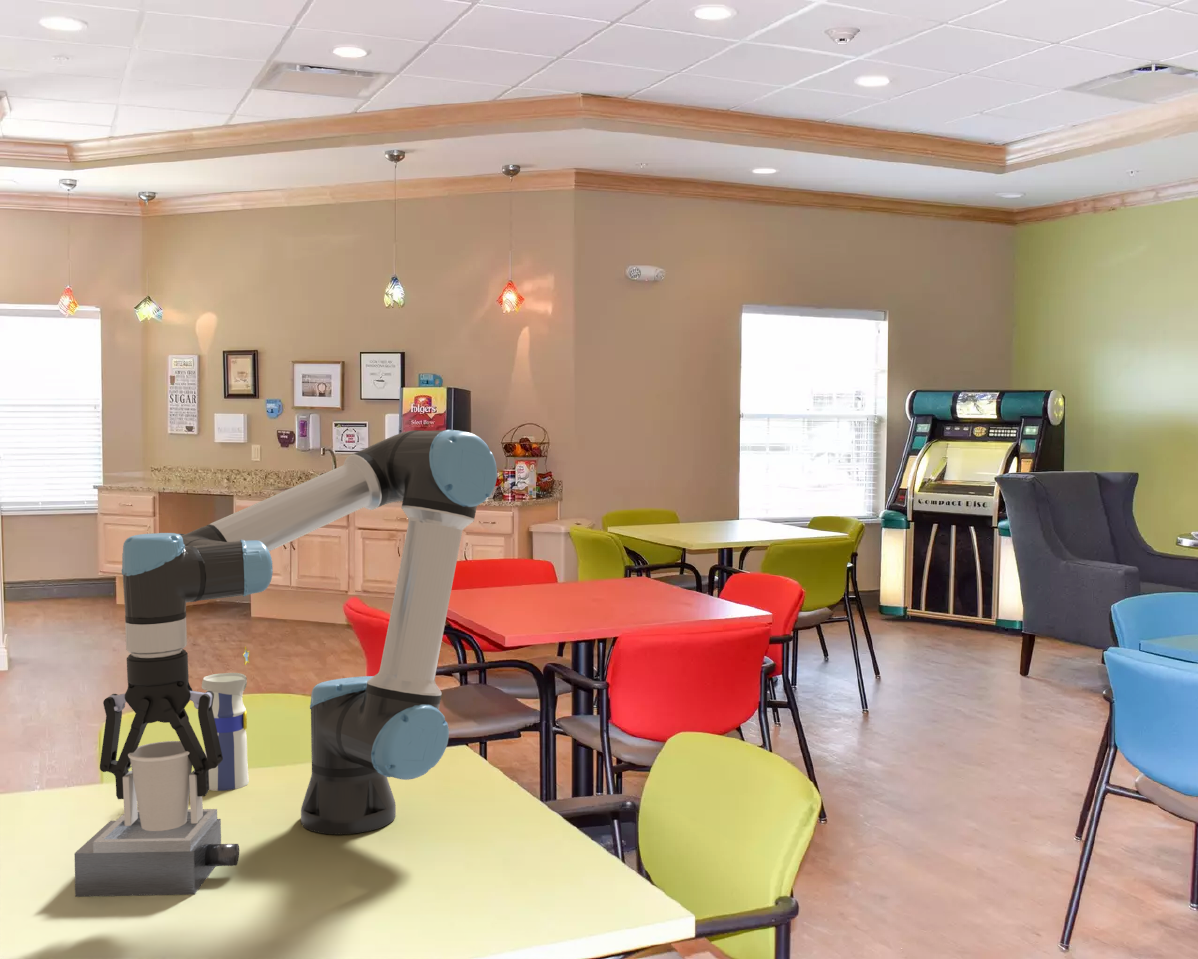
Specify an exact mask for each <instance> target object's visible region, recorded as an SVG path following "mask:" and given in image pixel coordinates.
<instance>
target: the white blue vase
mask: <svg viewBox="0 0 1198 959" xmlns="http://www.w3.org/2000/svg"><path fill="white" fill-rule="evenodd" d="M243 651H244V652H243V654H242V657H243V658H244V666H246V665H247V664H250V659H249V656H250V650H247V646H244V650H243ZM247 681H248V679H247V676H246V675H245V674H243V673H240V672H239V673H238V672H225V673H223V672H222V673H214V674H209V675H207V676H204V677H203V678H202V682H201V689H202V690H204V691H206V692H207V691H212V692H213V693H214V699H213V706H212V710H213V714H214V719H215V724H216V729H217V733H218V738H219V743H220V747H221V752H222V757H223V760H222V761H221V763H220V764H219V765H218V766H217V767H216V768H212V769H209V791H215V792H216V791H217V792H222V791H233V790H237V789H241V788H243V787H246V786H247V785H248V784H249V782H250V781H249V766H248V738H247V737H248V736H247V729H248V721H247V720H248V718H247V717H248V716H247V714H248V713H247V708H246V706H245V705H244V702H243V701H244V700H243V698H244V697H243V693H244V692H245V689H246V687H247V684H248V682H247ZM204 753H205V755H206V751H205V750H204ZM206 757H207V755H206Z"/></svg>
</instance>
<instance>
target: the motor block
mask: <svg viewBox="0 0 1198 959" xmlns="http://www.w3.org/2000/svg"><path fill="white" fill-rule="evenodd" d="M137 811H138V819H137V820H136V821H135V822H134V823H133V824H132V825H131V826H125V820H124V813H123V814H122V815H121V816H120V817H119V818H117V820H109V821H108V822H107V823H106V824H105V825H104V826H103V827H102V828H100V829H99V831H97V832H96V833H95V834H94V835H93V836H91V838H89V840H87V841H86V842H85V843H84V844H83V845H82V846H81V847H80V848H79V849H78V850H76V851H75V852H74V890H75V891H74V893H75V894H74V896H75V898H76V897H78V898H80V897H82V898H83V897H122V896H123V897H126V896H127V897H129V896H130V897H132V896H171V895H172V896H175V895H176V896H177V895H179V896H181V895H182V896H183V895H195V894H197V892H198V891H199V889H200V888H201V886H202V885H203V884H204V882H206V880H207V879H208V877H209V876H210V874H211V873H212V872H213V870H214V869H215V868H216V867H232V866H233V867H236V866H237V865H238V863H239V859H240V846H239V843H222V826H221V824H222V822H221V820H222V819H221V818H218V808H203V817H202V818H201V819H200V820H199V821H198V823H191V808H190V809H189V808H188V814H187V822H186V823H185V824H184V825H182V826H180V827H178V828H174V829H170V830H164V831H148V830H144V829H142V827H141V821H140V815H139V809H137Z"/></svg>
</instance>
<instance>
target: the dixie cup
mask: <svg viewBox="0 0 1198 959" xmlns="http://www.w3.org/2000/svg"><path fill="white" fill-rule="evenodd" d="M188 755H189V752H188V751H185V749H184V747H183V745H182V743H181V741H180V740H170V741H169V740H167V741H166V740H165V741H157V742H151V743H146V744H141V745H138V748H137V749H136V750H135V752H133V753H129V754H128V757H129V758H130V761H131V765H130V766H131V771H132V773H133V779H134V785H135V791H136V797H137V810H139V815H140V821H141V827H142V829H144V830H148V831H164V830H170V829H174V828H178V827H180V826H182V825H184V824H185V823H186V822H187V814H188V809H189V804H190V803H189V802H190V783H189V775H190V774H191V773H192V772H193V766H192V764H191V762H190V760H189V758H188Z"/></svg>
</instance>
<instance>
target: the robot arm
mask: <svg viewBox="0 0 1198 959" xmlns="http://www.w3.org/2000/svg"><path fill="white" fill-rule="evenodd" d="M497 469H498V468H497V462H496V459H495V456H494V454H493V452H492V451H491V450H490V448H489V445H488V444H487V443H486V442H485V441H484V439H482V438H481V437H480V436H478V435H476V434H474V433H473V432H468V431H463V430H455V429H445V430H421V429H420V430H408V431H404V432H401V433H396V434H394V435H392V436H390V437H388V438H385V439H383V440H381V441H379V442H376V443H375V444H372V445H370V446H367V447H366V448H364V449H362V450H360V451H357V452H355V453H352V454H350V455H348V456H347V457H346V458H345V460H344V462H343V465H340V466H338V467H336V468H334V469H332V470H330V471H327V472H325V473H322V474H320V475H317V476H316V477H313V478H310V479H308V480H306V481H303V482H302V483H299V484H297V485H296V486H295V485H294V486H293V487H290V488H289V489H286V490H283V491H282V492H280V493H277V494H275V495H273V496H270V497H268V498H265V499H263V500H261V501H259V502H257V503H254V504H252V505H249V506H247V507H245V508H243V509H240V510H238V511H236V512H234V513H232V514H229V515H227V516H225V517H222V518H220V519H217V520H215V521H213V522H211V523H209V524H207V525H205V526H201V527H198V528H197V529H194V530H192V531H190V532H188V533H175V532H158V533H156V532H155V533H142V534H135V535H131V536H129V537H127V538H126V539H125V540H124V542H123V545H122V555H121V556H122V560H121V562H122V564H121V565H122V566H121V575H122V583H123V585H122V587H123V600H124V614H125V615H124V619H125V621H124V624H125V628H124V629H125V651H126V652H128V653H129V655H127V657H126V673H127V674H126V676H127V679H126V680H127V689H126V691H125V692H124V693H121V694H117V693H112V694H111V695H109V696H108V697H106V698H105V699H104V700H103V702H102V703H103V709H104V713H105V724H104V730H103V731H104V732H103V739H102V746H101V753H100V754H101V755H100V762H99V770H100V771H101V772H102V773H106V772H107V773H111V774H113V775H114V778H115V796H116V798H117V800H123V812H124V813H123V814H124V820H125V826H131V825H132V824H133V823H134V822H135V821H136V820H137V819H138V811H137V810H138V803H137V797H136V791H135V785H134V779H133V773H132V770H131V769H132V767H131V761H130V758H129V757H128V754H129V753H133V752H135V750H136V749H137V748H138V747H139V746H140V742H141V740H142V737H143V735H144V733H145V730H146V728H147V725H148V724H153V723H156V722H159V723H169V725H170V727H171V728H172V730H174V731H175V733H176V735H177V737H178V739H179V741H181V743H182V745H183V747H184V749H185V751H188V752H189V755H188V758H189V760H190V762H191V764H192V769H193V770H192V773H191V774H190V775H189V783H190V793H189V802H190V803H189V804H190V809H191V823H198V821H199V820H200V819H201V818H202V817H203V809H204V808H203V805H204V804H203V797H206V795H208V794H209V791H210V790H209V769H212V768H216V767H217V766H218V765H219V764H220V763H221V761H222V760H223V757H222V752H221V747H220V743H219V738H218V733H217V729H216V724H215V719H214V714H213V710H212V706H213V699H214V693H213V692H212V691H207V690H206V692H202V691H194V690H193V688H192V687H191V685H190V683H189V681H190V680H189V679H190V678H189V675H190V674H189V658H188V657H189V655H188V652H187V651H186V650H185V648H186V647H187V646H188V632H187V610H186V609H187V603H195V602H199V601H205V600H206V601H207V600H208V601H209V600H216V599H224V598H232V597H242V596H243V597H246V596H248V595H253V594H258V593H259V594H260V593H262V592H264V591H266V590H267V589H268V587H269V586H270V584H271V583H272V582H271V581H272V578H273V573H274V572H273V567H274V566H273V559H272V556H271V553H270V552H271V551H273V550H275V549H277V548H280V547H282V546H284V545H286V544H288V543H290V542H293V541H295V540H297V539H299V538H302V537H303V536H305V535H307V534H310V533H312V532H314V531H317V530H319V529H320V528H323V527H325V526H327V525H329V524H331V523H333V522H335V521H338V520H340V519H342V518H344V517H346V516H348V515H350V514H353V513H355V512H357V511H359V510H361V509H363V508H364V509H366V510H370V511H371V510H376V509H378V508H380V507H382V506H384V505H385V506H386V505H388V504H391V503H396V502H397V503H398V502H402V504H401V509H402V510H401V511H403V513H404V514H405V515H406V517H407V519H408V523H407V528H406V529H407V530H406V534H405V539H404V544H403V549H402V554H401V560H400V563H399V569H398V574H397V579H396V580H397V581H396V585H395V590H394V596H393V601H392V605H391V610H390V616H389V620H388V627H387V630H386V631H387V632H386V636H385V641H384V646H383V652H382V657H381V661H380V662H381V663H380V665H379V666H380V667H379V670H378V673H376V674H375V675H372V676H371V675H370V676H369V675H367V676H366V675H363V676H351V677H344V678H336V679H330V680H326V681H322V682H319V683H318V684H316V685H315V686H314V687H313V688H312V691H311V696H310V705H309V709H310V736H311V737H310V740H311V742H310V743H311V746H310V747H311V750H310V751H311V776H310V779H309V782H308V785H307V788H306V792H305V796H304V798H303V801H302V805H301V807H300V824H301V825H302V827H304V829H306V830H308V831H311V832H315V833H319V834H325V835H353V834H360V833H367V832H370V831H374V830H378V829H380V828H383V827H385V826H387V825H389V824H391V823H392V822H393V821H394V820H395V818H396V816H397V815H396V814H397V813H396V809H397V807H396V801H395V800H396V799H395V797H394V794H393V791H392V788H391V785H390V782H389V780H388V778H393V779H394V778H395V779H398V780H405V781H409V780H413V779H416V778H420V777H422V776H424V775H425V774H427V773H428V772H429V771H430V770H431V769H432V768H435V767H436V765H437V764H438V763H439V762H440V760H441V759H442V757H443V756H444V754H445V751H446V749H447V746H448V744H449V737H450V732H449V731H450V730H449V729H450V728H449V723H448V722H447V721H446V717H445V715H444V714H443V713H442V712H441V711H440V705H441V700H442V691H441V689H440V688H439V686H438V685H437V684H436V681H435V679H436V674H437V669H438V668H437V667H438V662H439V657H440V652H441V647H442V646H441V645H442V643H443V642H442V640H443V636H444V632H445V626H446V620H447V614H448V609H449V604H450V598H451V594H452V587H453V584H454V583H453V582H454V579H455V572H456V566H457V561H458V556H459V550H460V546H461V541H462V535H463V531H464V530H465V528H467V527H468V526H469V525H471V524H472V523H473V522H475V516H476V512H477V509H478V508H477V507H478V506H479V505H481V504H482V503H484V502H486V500H487V498H490V496H491V495H492V494H493V491H495V490H494V489H495V487H496V484H497V477H498V470H497ZM190 701H191V702H192V703H193V707H194V708H195V709H197V716H198V723H199V727H200V731H201V736H202V742H203V745H204V749H203V747H202V745H201V743H200V741H199V739H198V737H197V735H196V733H195V731H194V728H193V727H192V725H191V724H192V723H190V718H189V715H188V713H187V710H186V709H185V708H186V707H187V705H188V703H189V702H190ZM126 703H127V705H128V706H129V708H131V710H132V711H133V712H134V713H135V714H134V718H133V720H132V722H131V724H130V729H129V732H128V735H127V738H126V740H125V743H124V745H123V747H122V750H121V752H120V755H119V757H118V760H117V756H118V749H119V740H120V734H121V732H120V731H121V725H122V717H123V710H124V709H125V707H126ZM205 751H206V755H207V757H206V755H205Z"/></svg>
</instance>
